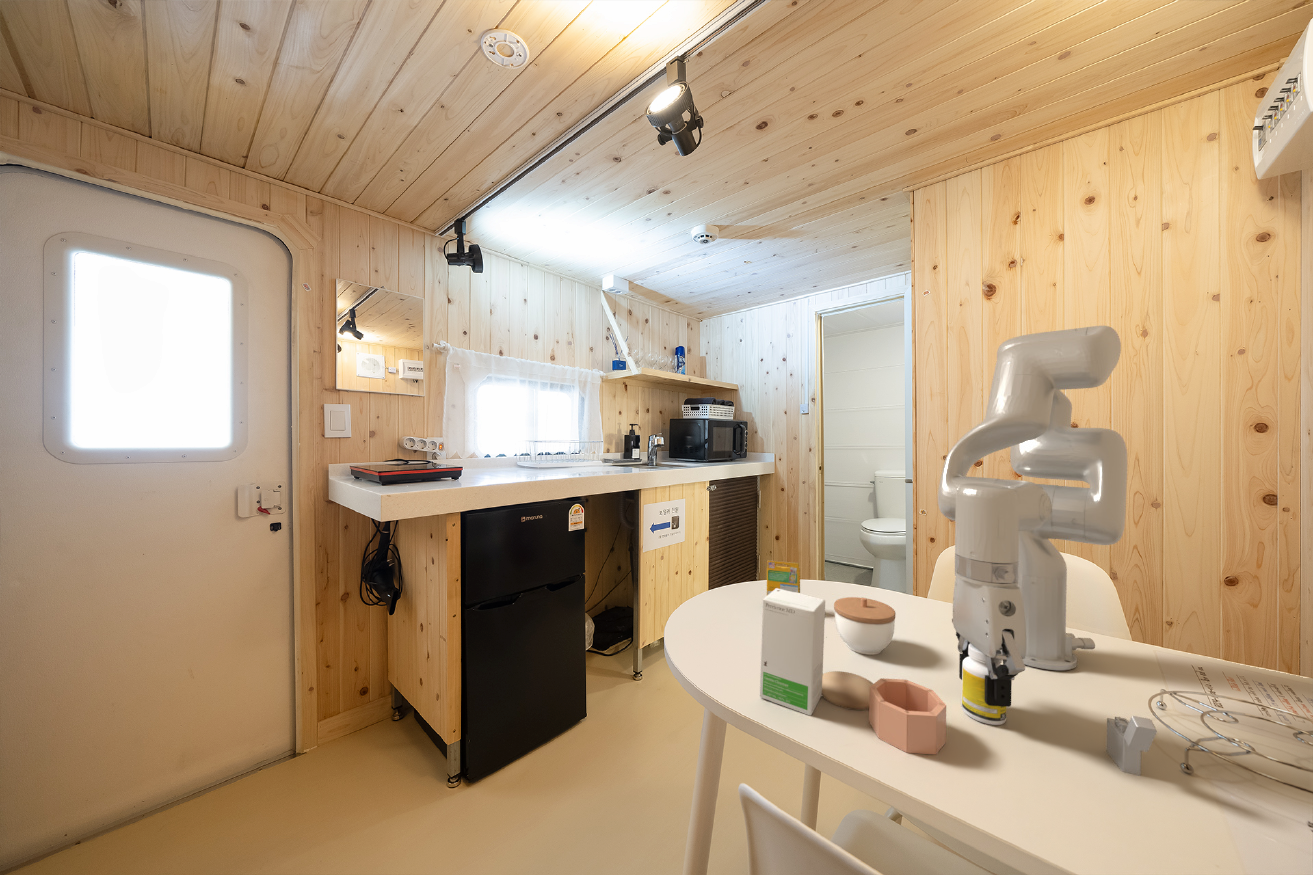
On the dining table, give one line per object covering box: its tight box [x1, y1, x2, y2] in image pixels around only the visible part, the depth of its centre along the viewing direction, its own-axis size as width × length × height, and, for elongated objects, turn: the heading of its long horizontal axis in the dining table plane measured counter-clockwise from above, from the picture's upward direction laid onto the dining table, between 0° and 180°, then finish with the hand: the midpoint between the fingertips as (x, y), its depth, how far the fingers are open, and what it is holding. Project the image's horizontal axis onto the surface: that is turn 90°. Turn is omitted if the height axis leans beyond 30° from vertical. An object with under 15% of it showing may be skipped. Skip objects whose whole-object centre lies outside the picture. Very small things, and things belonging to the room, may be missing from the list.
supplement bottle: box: [960, 643, 1008, 726], centre depth 67 cm, size 5×5×10 cm
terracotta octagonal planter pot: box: [868, 677, 947, 756], centre depth 63 cm, size 9×9×5 cm
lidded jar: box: [833, 596, 897, 656], centre depth 88 cm, size 11×11×9 cm
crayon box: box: [766, 559, 801, 596], centre depth 106 cm, size 7×3×12 cm, turn 69°
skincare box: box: [759, 588, 826, 716], centre depth 71 cm, size 8×7×16 cm
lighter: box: [1105, 715, 1158, 777], centre depth 56 cm, size 7×2×8 cm, turn 156°
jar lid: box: [821, 670, 874, 711], centre depth 73 cm, size 9×9×1 cm
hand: (983, 690), depth 67 cm, fingers closed on supplement bottle, 5 cm apart
